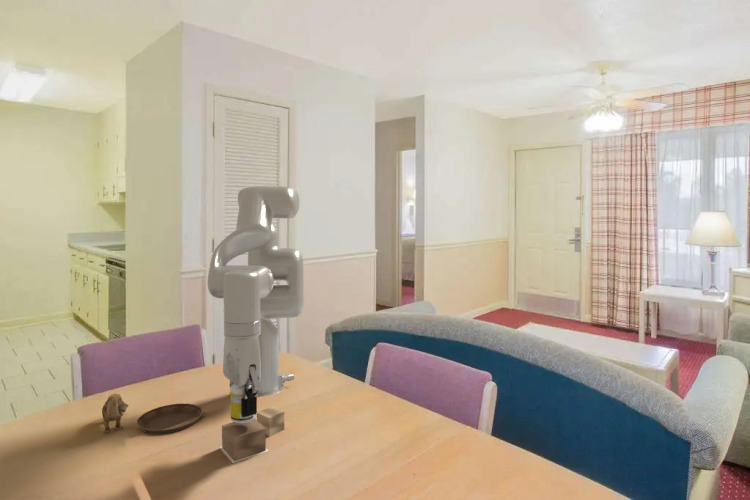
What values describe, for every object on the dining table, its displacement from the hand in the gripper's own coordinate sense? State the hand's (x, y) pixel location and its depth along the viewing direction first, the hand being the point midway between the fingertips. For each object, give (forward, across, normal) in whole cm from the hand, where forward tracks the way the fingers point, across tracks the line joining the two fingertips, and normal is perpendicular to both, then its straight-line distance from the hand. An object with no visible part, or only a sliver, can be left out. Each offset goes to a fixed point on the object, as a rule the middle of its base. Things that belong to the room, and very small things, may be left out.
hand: (243, 409), depth 99 cm
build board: (+10, 0, +2) cm, 10 cm away
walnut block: (+9, 0, 0) cm, 9 cm away
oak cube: (+9, -4, +8) cm, 13 cm away
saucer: (+11, -24, -9) cm, 28 cm away
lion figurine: (+10, -32, -20) cm, 39 cm away
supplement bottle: (+2, 0, 0) cm, 2 cm away
